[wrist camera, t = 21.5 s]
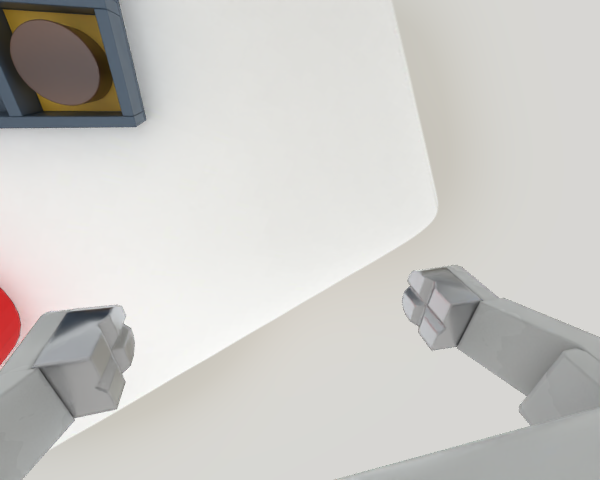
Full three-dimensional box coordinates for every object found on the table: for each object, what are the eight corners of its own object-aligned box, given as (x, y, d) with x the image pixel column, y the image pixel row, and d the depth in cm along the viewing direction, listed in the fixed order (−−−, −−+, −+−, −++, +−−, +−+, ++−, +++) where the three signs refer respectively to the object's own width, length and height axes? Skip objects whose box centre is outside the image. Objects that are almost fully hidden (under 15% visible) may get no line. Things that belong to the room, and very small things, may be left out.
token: (21, 23, 20) (-8, 16, 17) (101, 27, 21) (84, 21, 18) (51, 101, 22) (30, 105, 20) (121, 102, 23) (109, 106, 21)
